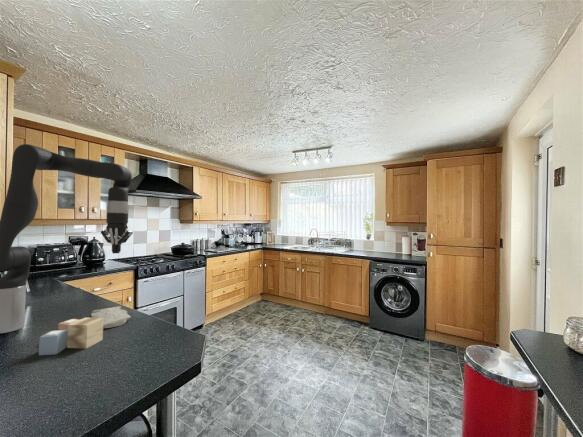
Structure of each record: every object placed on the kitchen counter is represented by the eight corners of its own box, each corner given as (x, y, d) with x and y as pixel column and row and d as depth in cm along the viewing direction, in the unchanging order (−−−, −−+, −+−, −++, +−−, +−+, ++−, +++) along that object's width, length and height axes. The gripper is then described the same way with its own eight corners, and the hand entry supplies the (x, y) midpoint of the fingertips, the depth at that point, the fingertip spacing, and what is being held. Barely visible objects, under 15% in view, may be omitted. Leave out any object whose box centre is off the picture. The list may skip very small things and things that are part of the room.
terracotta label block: (57, 339, 93) (58, 322, 93) (72, 334, 98) (73, 318, 98) (67, 341, 92) (68, 324, 92) (82, 335, 97) (82, 319, 97)
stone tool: (89, 316, 118) (96, 332, 100) (90, 308, 118) (96, 322, 100) (122, 311, 127) (133, 324, 109) (122, 303, 127) (134, 315, 109)
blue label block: (38, 355, 82) (39, 336, 82) (50, 348, 87) (51, 330, 87) (56, 354, 83) (57, 335, 83) (67, 347, 87) (67, 329, 88)
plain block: (67, 347, 87) (68, 324, 87) (84, 338, 94) (85, 317, 94) (86, 348, 87) (87, 325, 87) (102, 339, 94) (103, 318, 94)
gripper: (95, 211, 102) (93, 253, 102) (126, 211, 102) (124, 254, 101) (109, 212, 110) (108, 252, 109) (138, 212, 109) (137, 252, 108)
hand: (116, 253), depth 105 cm, fingers closed
